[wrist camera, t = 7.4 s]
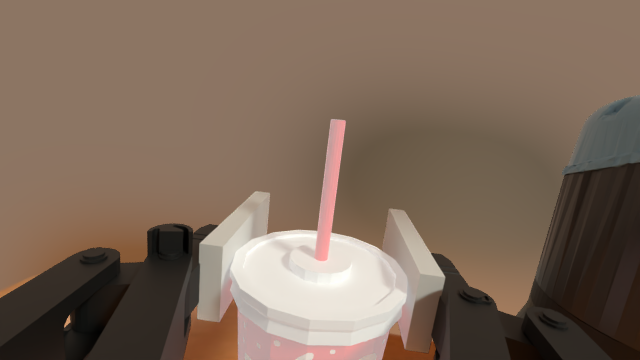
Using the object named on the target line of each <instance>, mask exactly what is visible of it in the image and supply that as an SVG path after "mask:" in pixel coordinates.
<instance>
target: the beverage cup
mask: <svg viewBox="0 0 640 360" xmlns="http://www.w3.org/2000/svg"><path fill="white" fill-rule="evenodd" d="M344 130H345V121H344V120H336V119H331V123H330V131H329V140H328V148H327V157H326V165H325V173H324V181H323V190H322V198H321V206H320V214H319V223H318V231H309V230H294V231H283V232H274V233H271V234H267V235H264V236H261V237H258V238H255V239H252V240H250V241H249V242H248V243H246V244H245V245H244V246H242V247H241V248H240V249H238V250H237V251H236V253H235V256H234V259H233V262H232V265H231V268H230V277H231V280H232V285H231V288H230V291H231V294H232V296H233V298H234V300H235V303H236V305H237V307H238V360H382V357H383V354H384V350H385V346H386V342H387V339H388V335H389V331H390V328H391V327H392V326H393V325H394V324H395V323H396V322H397V321H398V320H399V319H400V318H401V317H402V306H403V305H404V304H405V302H406V297H407V276H406V274H405V273H404V271H403V270H402V268H401V267H400V266H399V264H398V263H397V261H396V260H395V259H393V258H392V257H390V256H389V255H387V254H386V253H384V252H383V251H381V250H380V249H378V248H377V247H375V246H373V245H370V244H368V243H365V242H362V241H360V240H357V239H355V238H352V237H348V236H343V235H339V234H335V233H331V229H332V222H333V214H334V207H335V198H336V191H337V183H338V176H339V168H340V161H341V153H342V145H343V138H344Z"/></svg>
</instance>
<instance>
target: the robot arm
mask: <svg viewBox="0 0 640 360" xmlns="http://www.w3.org/2000/svg"><path fill="white" fill-rule="evenodd" d="M562 175H565V176H564V179H563V183H562V186H561V190H560V193H559V197H558V200H557V203H556V207H555V210H554V214H553V217H552V221H551V224H550V227H549V231H548V234H547V238H546V241H545V245H544V248H543V252H542V255H541V258H540V262H539V265H538V269H537V272H536V276H535V279H534V282H533V286H532V289H531V293H530V296H529V299H528V301H527V303H526V304H525V305H524V306H523V308H522V309H521V310H520V311H519V312H518V314H517V315H516V316H513V315H510V314H506V313H504V312H501V311H498V310H497V306H496V303H495V302H494V300H493V299H492V298H491V297H490V296H488V295H487V294H486V293H484V292H482V291H480V290H478V289H475V288H472V287H469V286H468V284H467V283H466V281H465V280H464V279H463V277H462V276H461V275H460V274H459V272H458V270H457V269H456V268H455V266H454V265H453V263H451V261H450V260H449V259H447V258H446V257H444V256H443V255H441V254H434V253H430V251H429V250H428V248H427V247H426V245H425V244H424V242H423V240H422V239H421V237H420V236H419V234H418V232H417V230H416V229H415V227H414V226H413V224H412V222H411V221H410V219H409V218H408V216H407V214H406V213H405V211H404V210H396V209H389V213H388V219H387V224H386V230H385V237H384V242H383V248H382V251H383V252H384V253H386V254H387V255H389V256H390V257H392V258H393V259H395V260H396V261H397V263H398V264H399V266H400V267H401V268H402V270H403V271H404V273H405V274H406V276H407V297H406V302H405V304H404V305H403V306H402V317H401V318H400V319H399V320H398V325H399V329H400V333H401V337H402V340H403V344H404V348H405V350H409V351H416V352H423V353H429V349H430V344H431V340H432V339H433V341H434V344H435V346H436V351H435V355H434V360H640V95H638V96H633V97H629V98H624V99H621V100H617V101H614V102H612V103H609V104H607V105H605V106H603V107H601V108H600V109H598V110H597V111H595V112H594V113H593V114H592V115H590V116H589V118H588V119H587V120H586V121H585V123H584V125H583V127H582V130H581V132H580V135H579V138H578V140H577V143H576V146H575V148H574V151H573V154H572V156H571V159H570V162H569V164H568V166H566V167H565V168H564V170H563V172H562ZM269 200H270V193H265V192H257V191H256V192H254V193H253V194H252V195H251V196H250V197H249V198H248V199H247V200H246V201H245V202H244V203H243V204H241V205H240V206H239V207H238V208H237V209H236V210H235V211H234V212H233V213H232V214H231V215H230V216H229V217H228V218H226V219H225V220H224V221H223V222H222V223H221V224H220V225H212V224H209V225H207V226H204V227H201V228H199V229H198V230H197V231H196V232H194V234H193V229H192V228H191V227H189V226H187V225H183V224H163V225H158V226H155V227H153V228H151V229H149V230H148V231H147V237H148V238H147V241H148V256H147V258H146V259H145V261H144V262H137V263H120V253H119V252H118V251H117V250H115V249H110V248H101V247H99V248H96V249H95V248H90V249H88V250H85V251H81V252H79V253H76V254H74V255H72V256H70V257H69V258H67V259H65V260H64V261H62V262H60V263H58V264H57V265H55V266H53V267H52V268H50V269H49V270H47V271H45V272H43V273H42V274H40V275H38V276H37V277H35V278H33V279H32V280H30V281H28V282H27V283H25V284H23V285H22V286H20V287H18V288H17V289H15V290H13V291H11V292H10V293H8V294H6V295H5V296H3V297H1V298H0V360H183V358H184V353H185V349H186V344H187V340H188V335H189V331H190V326H191V312H192V311H193V310H194V308H195V307H196V306H197V304H198V307H197V319H200V320H206V321H213V322H220V320H221V319H222V317H223V315H224V314H225V312H226V310H227V308H228V307H229V305H230V303H231V302H232V300H233V296H232V294H231V291H230V288H231V285H232V280H231V277H230V268H231V265H232V262H233V259H234V256H235V253H236V251H237V250H238V249H240V248H241V247H242V246H244V245H245V244H246V243H248V242H249V241H250V240H252V239H255V238H258V237H261V236H264V235H267V225H268V213H269ZM69 315H70V322H71V323H69V324H68V325H67V326H66V327H65V328H64V324H65V322H66V320H67V318H68V316H69Z"/></svg>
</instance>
